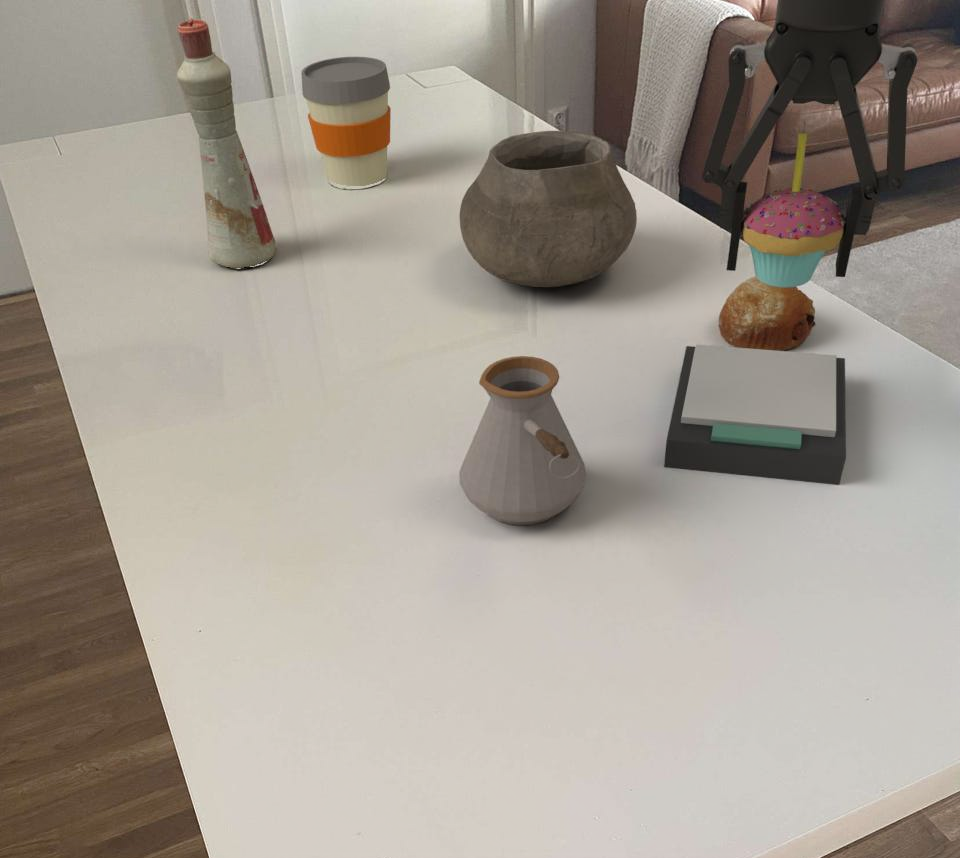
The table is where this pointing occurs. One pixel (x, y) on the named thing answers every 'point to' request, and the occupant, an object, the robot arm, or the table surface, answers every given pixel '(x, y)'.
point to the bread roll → (766, 316)
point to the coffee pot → (522, 446)
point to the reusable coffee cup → (349, 117)
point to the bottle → (222, 156)
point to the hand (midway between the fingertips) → (785, 266)
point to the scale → (759, 414)
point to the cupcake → (791, 230)
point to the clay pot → (548, 209)
